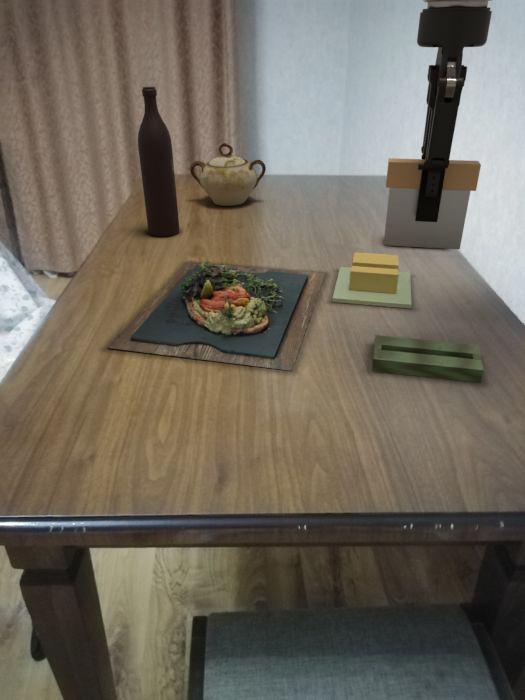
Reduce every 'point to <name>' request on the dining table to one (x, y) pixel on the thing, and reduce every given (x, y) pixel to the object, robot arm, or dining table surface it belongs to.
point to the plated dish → (227, 316)
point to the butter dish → (373, 298)
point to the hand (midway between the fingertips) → (425, 217)
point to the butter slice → (374, 279)
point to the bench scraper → (405, 198)
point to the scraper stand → (427, 358)
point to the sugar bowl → (228, 178)
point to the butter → (376, 260)
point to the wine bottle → (157, 170)
